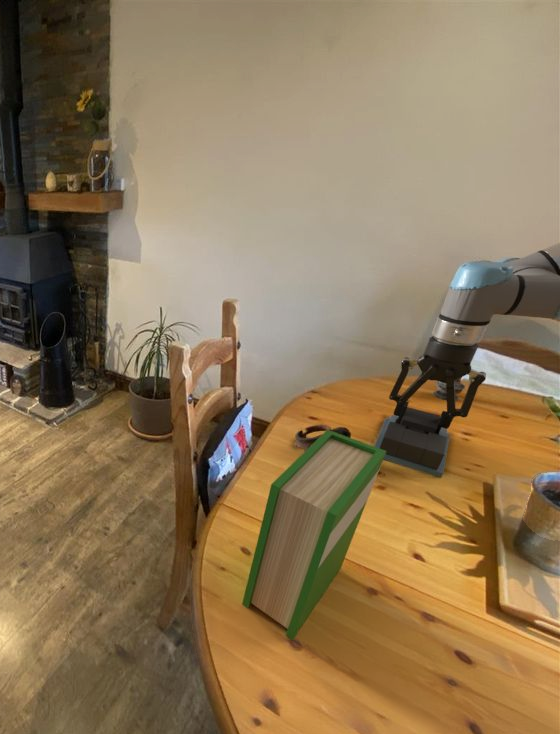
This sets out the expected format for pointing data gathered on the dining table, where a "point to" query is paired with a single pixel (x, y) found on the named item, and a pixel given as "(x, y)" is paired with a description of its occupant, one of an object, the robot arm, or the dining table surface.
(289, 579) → the hardback book
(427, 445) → the board
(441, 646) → the dining table surface
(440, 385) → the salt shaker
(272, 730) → the dining table surface
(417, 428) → the black box
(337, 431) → the dark brown curved piece
